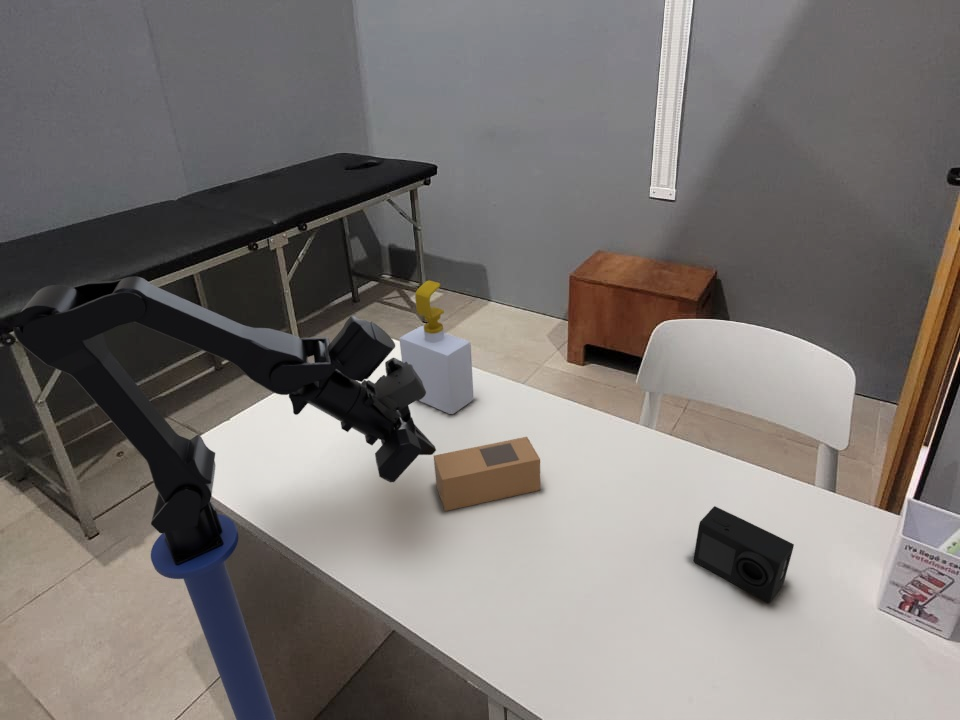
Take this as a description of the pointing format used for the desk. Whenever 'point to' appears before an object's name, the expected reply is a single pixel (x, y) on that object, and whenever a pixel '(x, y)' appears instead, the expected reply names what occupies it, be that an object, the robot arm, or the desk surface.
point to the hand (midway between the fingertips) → (433, 451)
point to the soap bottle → (438, 357)
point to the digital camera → (742, 553)
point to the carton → (487, 473)
